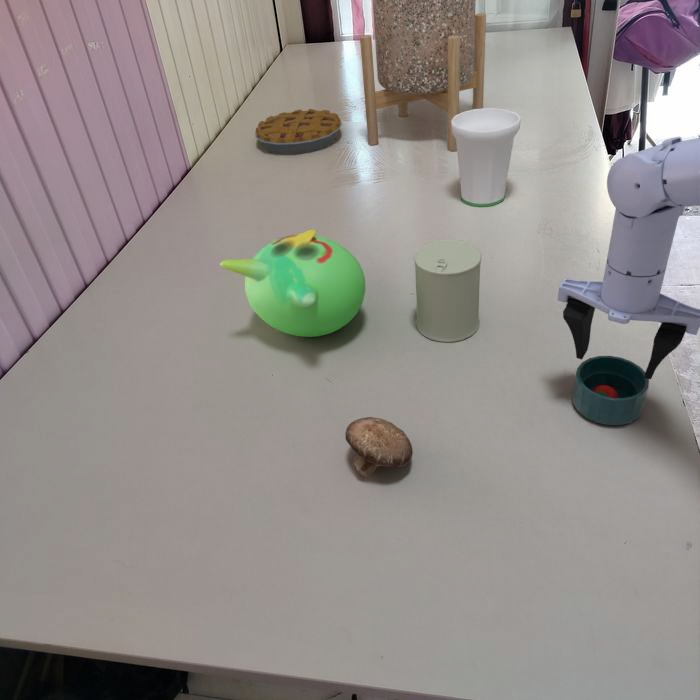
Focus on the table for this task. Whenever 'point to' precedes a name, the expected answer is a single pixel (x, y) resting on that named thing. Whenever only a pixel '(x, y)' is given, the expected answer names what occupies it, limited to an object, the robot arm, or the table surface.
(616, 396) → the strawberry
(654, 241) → the robot arm
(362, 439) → the mushroom
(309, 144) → the pie
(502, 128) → the cup
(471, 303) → the can
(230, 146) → the table surface
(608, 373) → the bowl
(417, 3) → the planter
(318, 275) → the toy bird
